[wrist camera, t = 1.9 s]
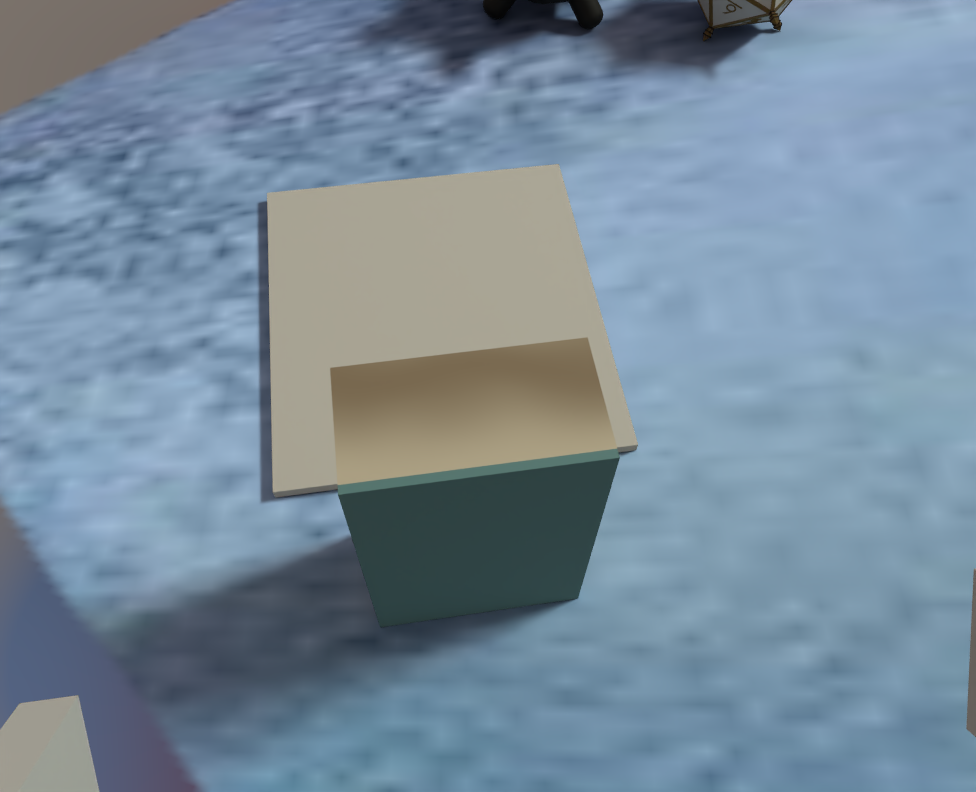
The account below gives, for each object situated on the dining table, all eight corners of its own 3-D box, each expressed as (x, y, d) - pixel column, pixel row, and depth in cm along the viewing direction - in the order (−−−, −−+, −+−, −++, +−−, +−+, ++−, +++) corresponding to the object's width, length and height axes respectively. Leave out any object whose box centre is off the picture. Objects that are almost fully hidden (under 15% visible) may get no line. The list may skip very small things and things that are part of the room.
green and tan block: (577, 598, 34) (619, 457, 24) (380, 627, 34) (338, 494, 23) (557, 502, 37) (587, 337, 26) (371, 527, 36) (329, 368, 26)
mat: (636, 450, 38) (638, 444, 38) (275, 497, 37) (273, 492, 36) (557, 170, 47) (558, 164, 47) (269, 199, 46) (267, 193, 46)
